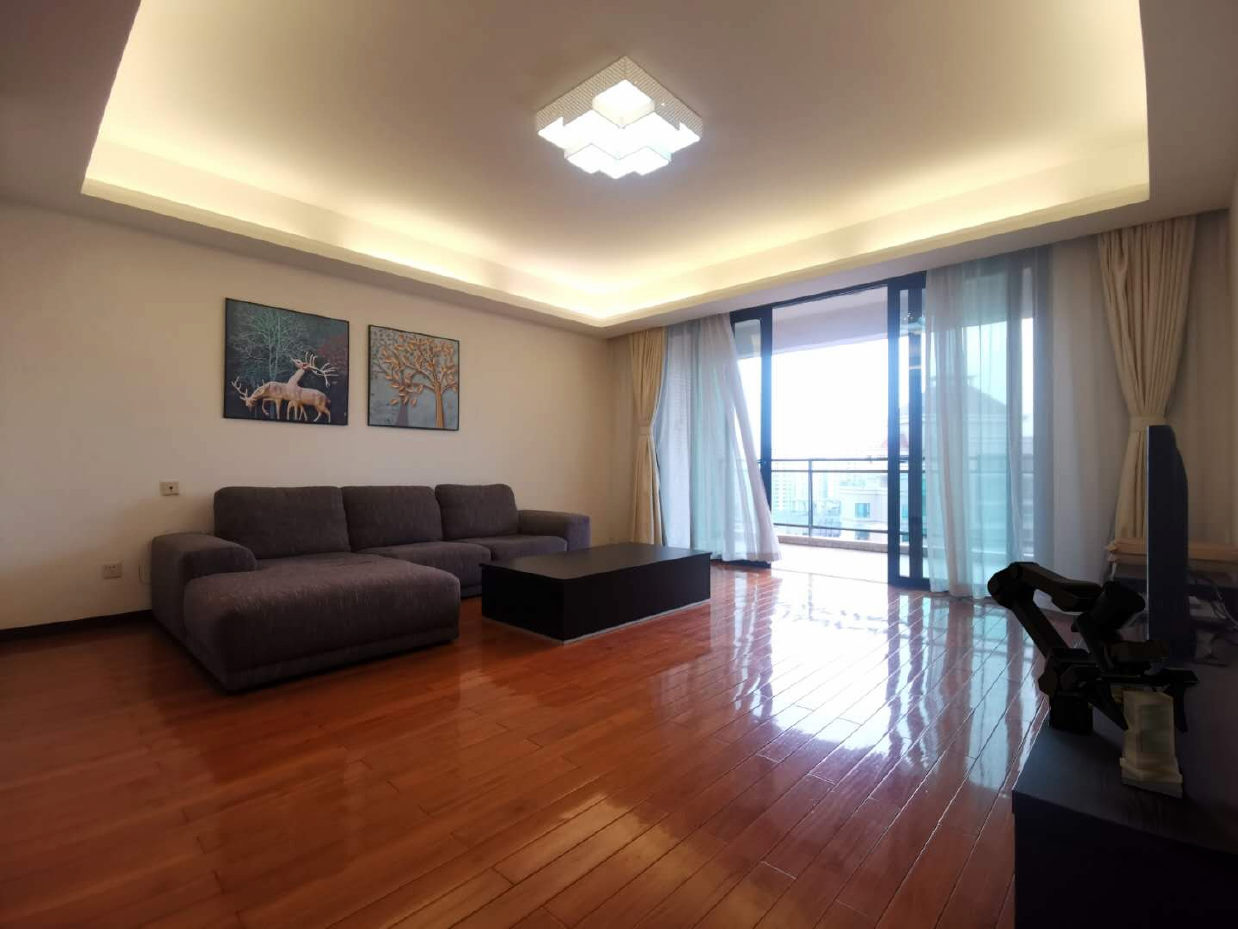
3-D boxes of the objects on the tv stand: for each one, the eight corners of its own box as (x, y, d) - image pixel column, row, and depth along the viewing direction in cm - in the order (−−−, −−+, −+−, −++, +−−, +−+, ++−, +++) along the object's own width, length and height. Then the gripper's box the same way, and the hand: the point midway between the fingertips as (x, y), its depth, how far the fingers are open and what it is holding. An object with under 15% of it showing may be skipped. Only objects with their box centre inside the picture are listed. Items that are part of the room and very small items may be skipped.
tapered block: (1143, 781, 91) (1140, 699, 91) (1120, 765, 96) (1117, 688, 96) (1182, 783, 90) (1179, 701, 91) (1157, 767, 95) (1154, 689, 95)
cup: (1124, 696, 128) (1123, 661, 128) (1156, 710, 121) (1155, 672, 121) (1092, 697, 128) (1091, 661, 128) (1123, 711, 121) (1121, 673, 121)
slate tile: (1122, 783, 92) (1121, 776, 92) (1122, 752, 103) (1122, 745, 103) (1182, 800, 88) (1182, 792, 88) (1176, 765, 98) (1176, 758, 98)
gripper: (1068, 618, 99) (1116, 707, 88) (1189, 620, 96) (1254, 713, 85) (1042, 649, 106) (1083, 735, 95) (1153, 653, 104) (1209, 742, 93)
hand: (1155, 731), depth 92 cm, fingers open, 8 cm apart
